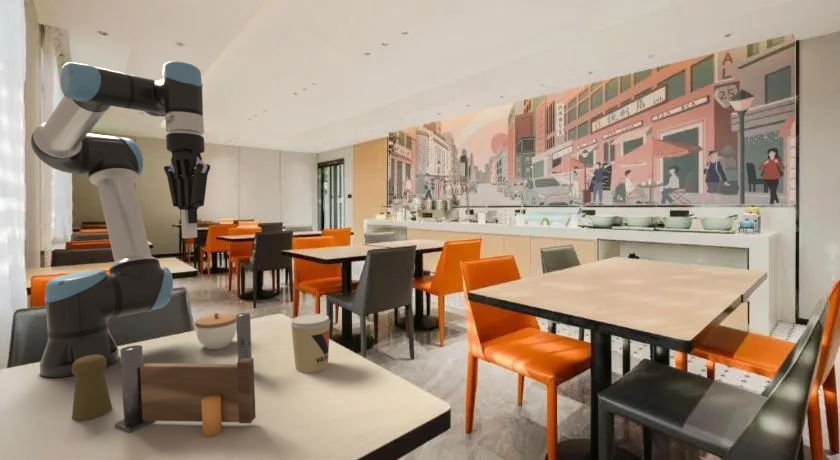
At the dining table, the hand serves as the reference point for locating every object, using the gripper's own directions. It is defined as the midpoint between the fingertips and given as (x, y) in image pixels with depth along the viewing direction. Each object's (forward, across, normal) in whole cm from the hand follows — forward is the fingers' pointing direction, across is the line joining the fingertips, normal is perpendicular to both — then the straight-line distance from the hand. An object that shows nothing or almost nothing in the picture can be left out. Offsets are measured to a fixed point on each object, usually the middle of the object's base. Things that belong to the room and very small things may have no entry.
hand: (189, 237), depth 93 cm
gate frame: (+32, +10, -7) cm, 35 cm away
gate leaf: (+31, +21, -14) cm, 40 cm away
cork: (+33, -2, -20) cm, 38 cm away
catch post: (+32, +26, -15) cm, 44 cm away
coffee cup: (+33, +22, +15) cm, 42 cm away
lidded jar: (+33, -13, +16) cm, 39 cm away
